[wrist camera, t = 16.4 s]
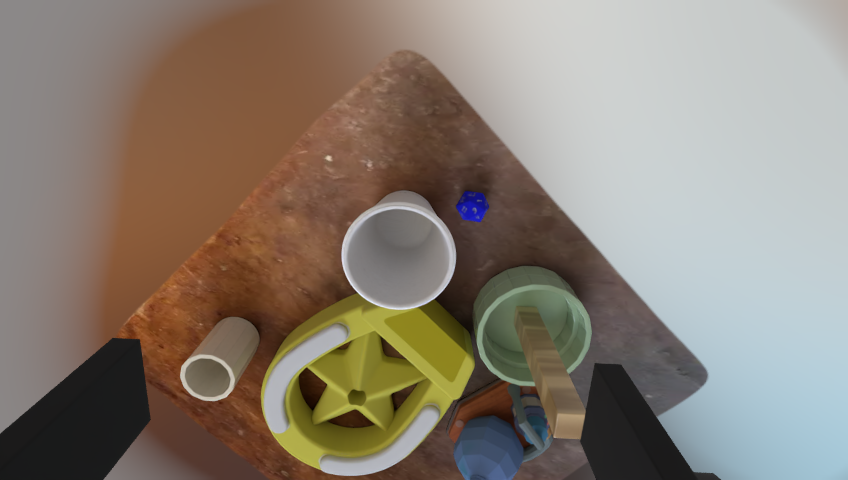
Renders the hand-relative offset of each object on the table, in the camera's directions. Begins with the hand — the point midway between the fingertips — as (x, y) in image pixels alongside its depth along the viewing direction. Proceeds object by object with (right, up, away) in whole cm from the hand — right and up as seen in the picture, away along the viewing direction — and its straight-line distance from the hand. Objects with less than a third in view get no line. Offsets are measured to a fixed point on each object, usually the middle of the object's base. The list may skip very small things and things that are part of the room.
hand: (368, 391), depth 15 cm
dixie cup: (0, +6, +32) cm, 32 cm away
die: (+6, +8, +31) cm, 33 cm away
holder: (-17, -5, +35) cm, 39 cm away
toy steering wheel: (-4, -9, +36) cm, 38 cm away
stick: (+11, -3, +34) cm, 36 cm away
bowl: (+11, -3, +34) cm, 36 cm away
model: (+10, -14, +38) cm, 42 cm away
